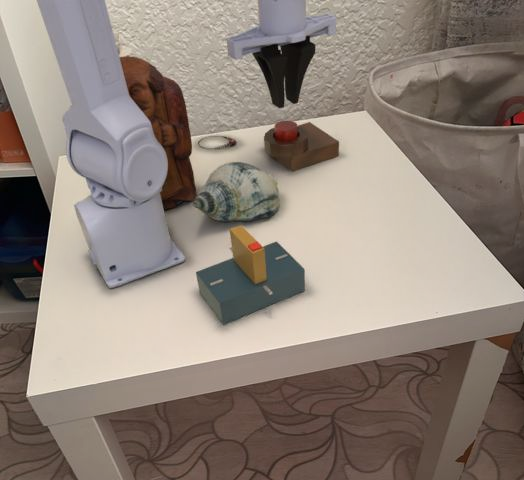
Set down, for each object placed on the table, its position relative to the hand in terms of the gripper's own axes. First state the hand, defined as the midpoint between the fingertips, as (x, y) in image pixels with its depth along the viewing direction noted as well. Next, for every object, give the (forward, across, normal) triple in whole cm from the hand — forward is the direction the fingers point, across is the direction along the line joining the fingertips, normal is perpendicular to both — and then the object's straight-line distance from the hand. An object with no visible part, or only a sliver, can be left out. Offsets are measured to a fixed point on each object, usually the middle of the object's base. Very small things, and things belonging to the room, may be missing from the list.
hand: (285, 103), depth 74 cm
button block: (+8, +2, +1) cm, 9 cm away
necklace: (+9, -6, +11) cm, 15 cm away
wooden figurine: (+9, -20, +1) cm, 22 cm away
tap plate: (+8, -18, -23) cm, 30 cm away
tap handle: (+5, -18, -23) cm, 30 cm away
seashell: (+9, -12, -8) cm, 17 cm away
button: (+5, 0, 0) cm, 5 cm away
